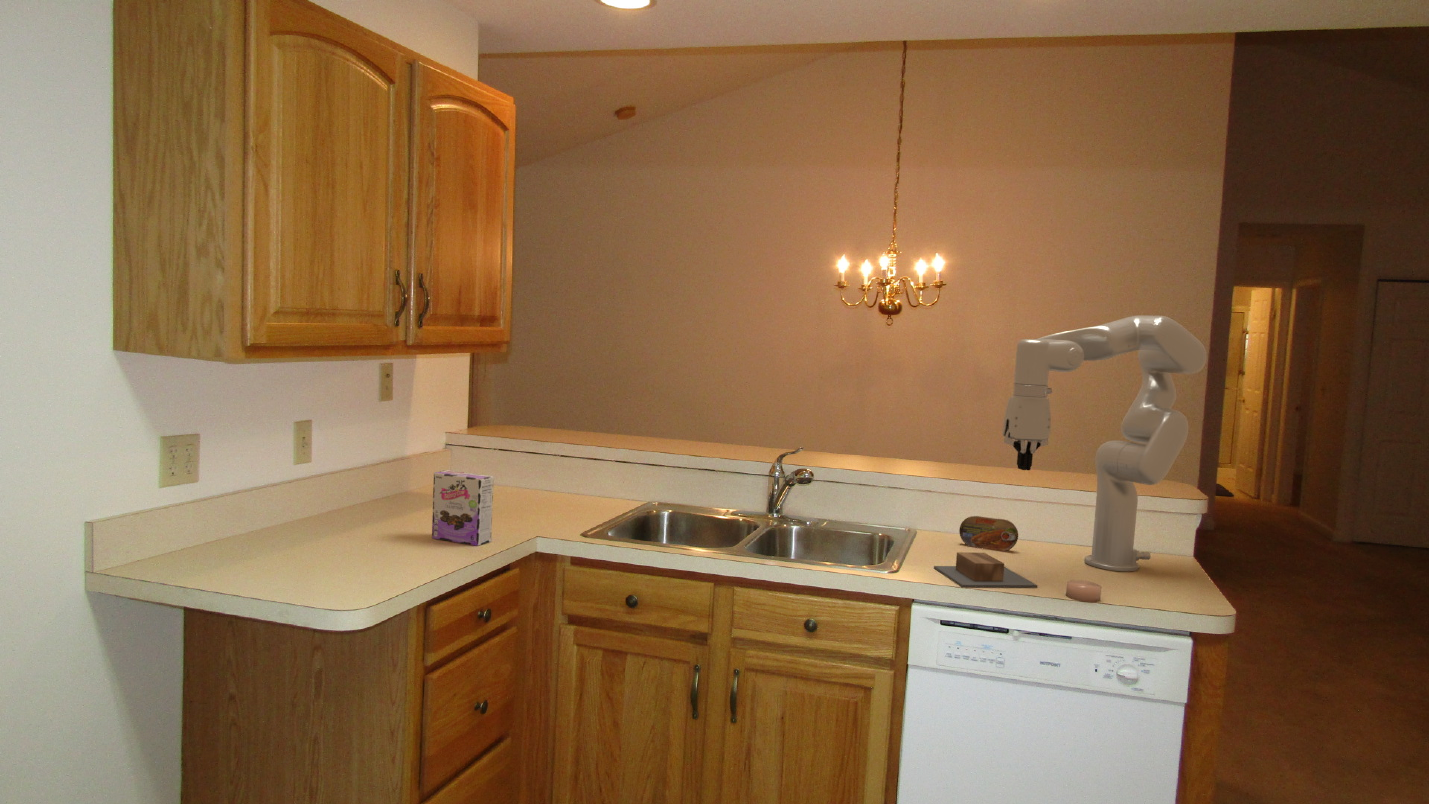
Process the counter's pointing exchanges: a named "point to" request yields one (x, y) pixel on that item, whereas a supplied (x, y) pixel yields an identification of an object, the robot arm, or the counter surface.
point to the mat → (1008, 581)
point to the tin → (988, 533)
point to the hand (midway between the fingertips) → (1023, 469)
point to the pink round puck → (1083, 590)
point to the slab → (980, 566)
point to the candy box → (462, 507)
